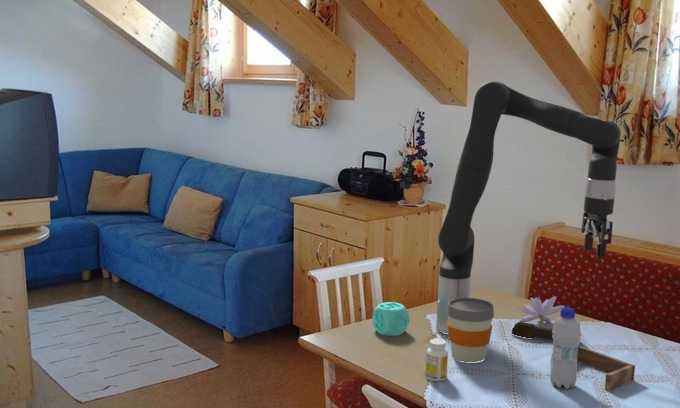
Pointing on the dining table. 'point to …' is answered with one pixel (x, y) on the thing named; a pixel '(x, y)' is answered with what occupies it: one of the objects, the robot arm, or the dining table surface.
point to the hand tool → (531, 331)
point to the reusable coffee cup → (469, 328)
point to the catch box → (607, 367)
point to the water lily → (540, 310)
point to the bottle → (565, 349)
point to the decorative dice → (390, 319)
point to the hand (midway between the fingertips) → (594, 254)
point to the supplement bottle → (436, 360)
